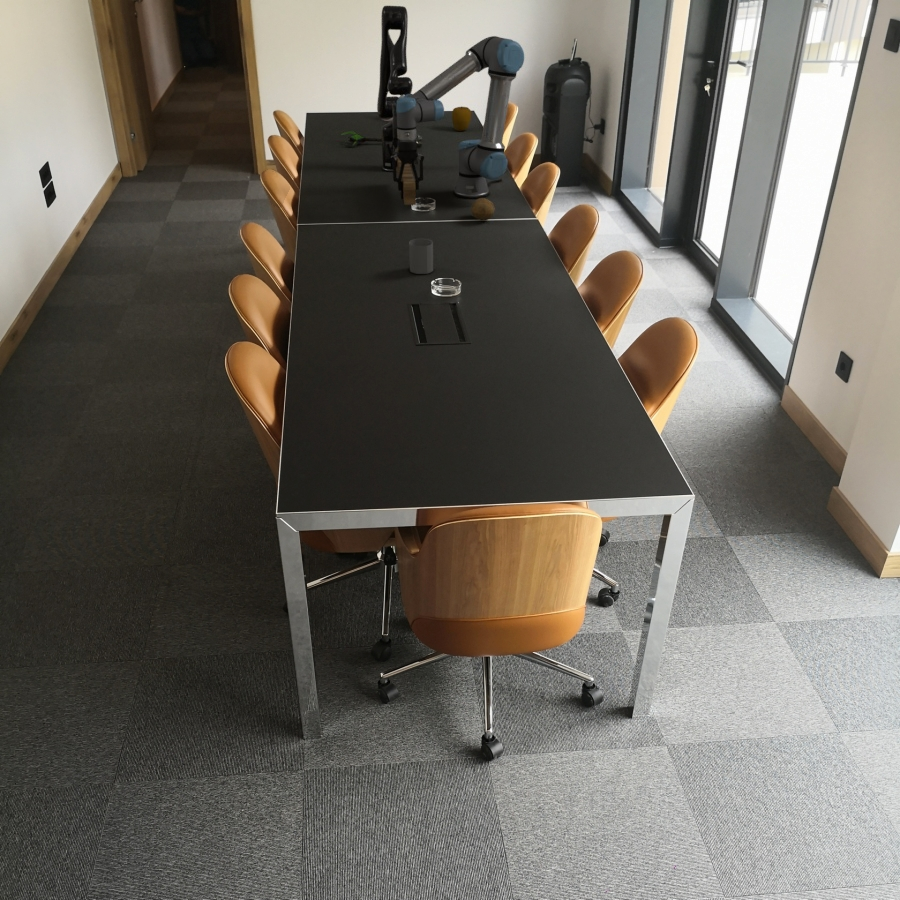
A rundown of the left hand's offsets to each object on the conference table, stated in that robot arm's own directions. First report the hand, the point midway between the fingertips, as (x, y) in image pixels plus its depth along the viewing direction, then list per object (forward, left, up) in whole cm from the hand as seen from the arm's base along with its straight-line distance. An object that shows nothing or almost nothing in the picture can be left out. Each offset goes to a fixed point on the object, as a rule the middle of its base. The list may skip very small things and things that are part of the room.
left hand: (402, 166), depth 387 cm
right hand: (+30, +22, -3) cm, 37 cm away
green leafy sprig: (-62, -61, -11) cm, 87 cm away
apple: (-115, -33, -11) cm, 121 cm away
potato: (+20, +51, -11) cm, 56 cm away
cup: (+82, +59, -11) cm, 101 cm away
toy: (-114, -76, -11) cm, 137 cm away
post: (+15, +11, -4) cm, 19 cm away
